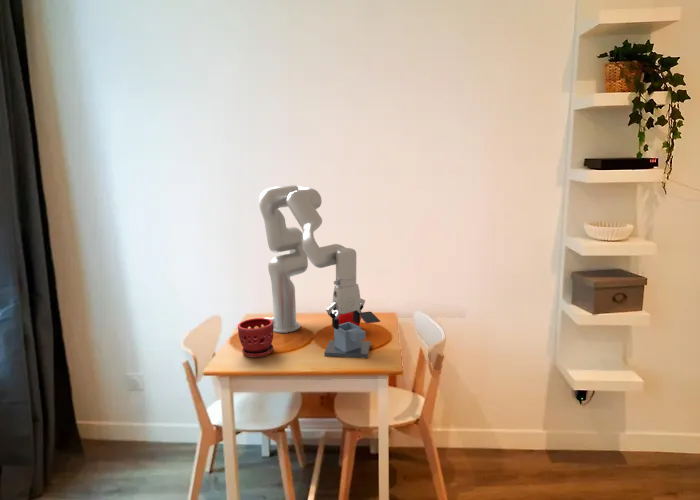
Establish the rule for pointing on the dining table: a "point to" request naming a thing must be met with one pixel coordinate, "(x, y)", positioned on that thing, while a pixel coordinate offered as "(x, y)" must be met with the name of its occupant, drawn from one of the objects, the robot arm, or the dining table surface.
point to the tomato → (347, 318)
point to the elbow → (348, 336)
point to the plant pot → (256, 337)
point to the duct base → (355, 353)
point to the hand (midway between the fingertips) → (346, 325)
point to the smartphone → (369, 317)
